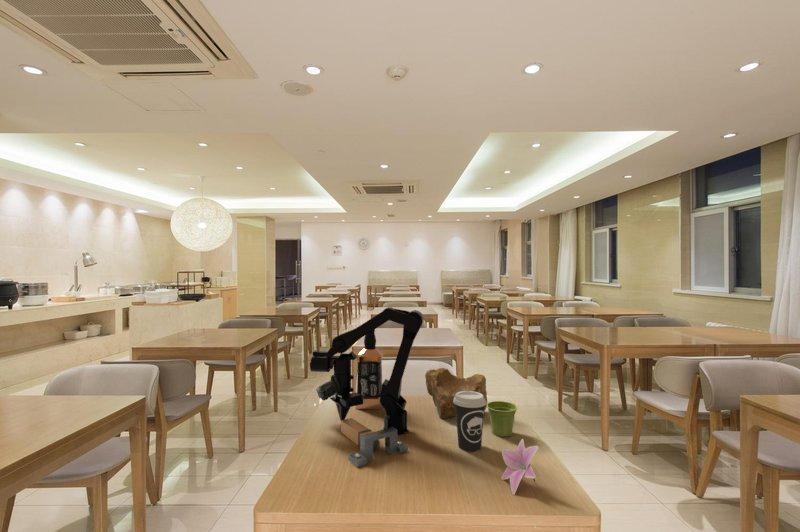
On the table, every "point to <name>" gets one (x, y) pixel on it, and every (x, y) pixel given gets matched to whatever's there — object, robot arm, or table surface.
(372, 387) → the whiskey bottle
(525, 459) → the lily
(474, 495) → the table surface
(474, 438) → the coffee cup
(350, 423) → the tan bar
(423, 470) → the table surface
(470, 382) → the rough brown rock
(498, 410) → the plant pot
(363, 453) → the mounting bracket
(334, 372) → the robot arm
